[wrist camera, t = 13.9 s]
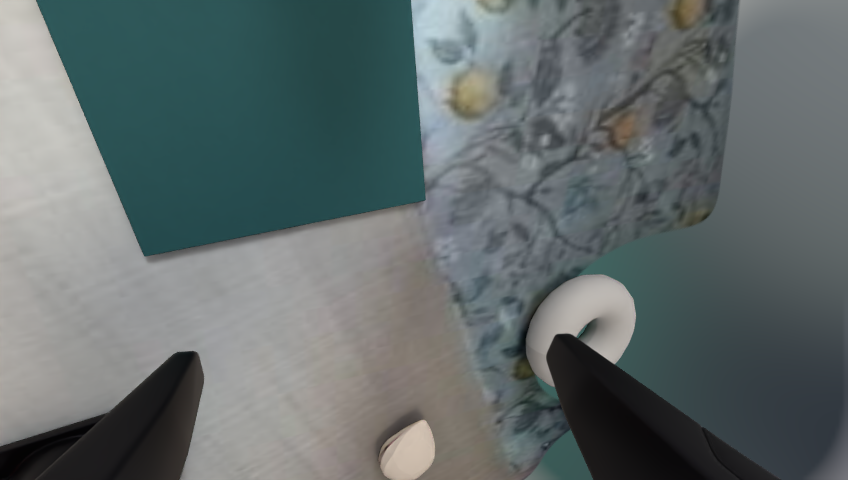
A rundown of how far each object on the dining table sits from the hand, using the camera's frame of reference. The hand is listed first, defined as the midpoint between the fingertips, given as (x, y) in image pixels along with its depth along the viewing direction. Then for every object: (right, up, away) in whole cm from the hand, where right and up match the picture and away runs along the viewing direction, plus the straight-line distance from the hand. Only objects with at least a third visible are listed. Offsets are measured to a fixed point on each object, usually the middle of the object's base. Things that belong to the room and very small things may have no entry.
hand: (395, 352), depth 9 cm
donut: (+13, -4, +22) cm, 25 cm away
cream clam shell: (-1, -12, +19) cm, 22 cm away
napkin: (-6, +9, +8) cm, 13 cm away
